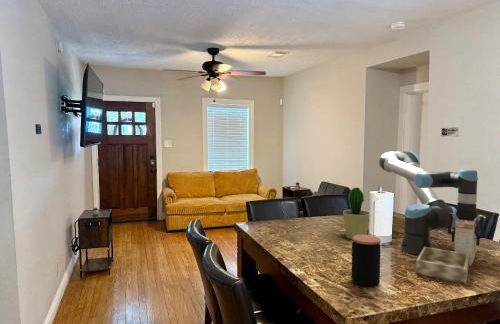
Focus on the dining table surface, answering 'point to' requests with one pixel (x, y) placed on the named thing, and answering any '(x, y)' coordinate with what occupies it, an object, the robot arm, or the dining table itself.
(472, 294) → the dining table surface
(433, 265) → the crate
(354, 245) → the coffee jar
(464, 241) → the coffeecake box
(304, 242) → the dining table surface
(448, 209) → the robot arm
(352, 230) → the potted cactus
